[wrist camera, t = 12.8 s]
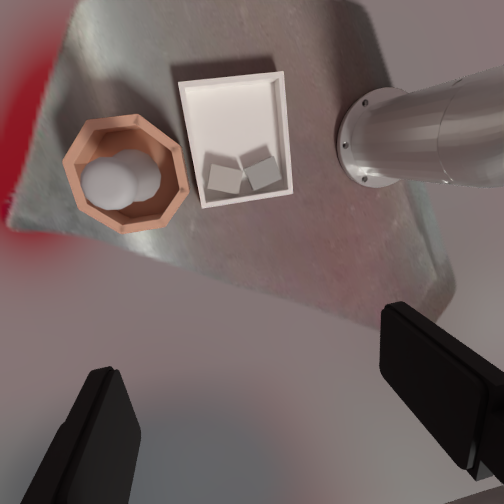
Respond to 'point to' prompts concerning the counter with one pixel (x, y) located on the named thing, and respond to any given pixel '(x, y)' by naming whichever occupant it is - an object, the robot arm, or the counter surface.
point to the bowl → (113, 141)
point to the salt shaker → (120, 179)
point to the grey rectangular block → (262, 173)
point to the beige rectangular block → (224, 179)
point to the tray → (237, 131)
